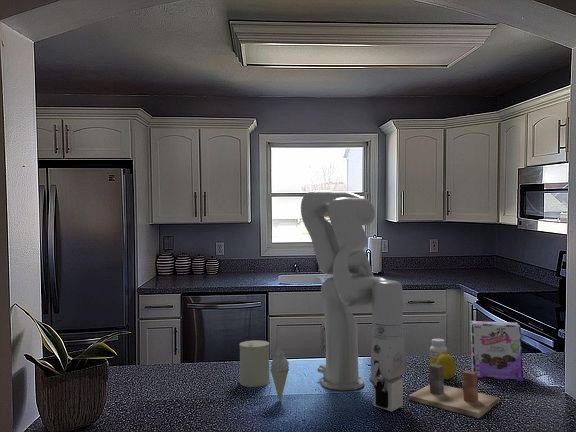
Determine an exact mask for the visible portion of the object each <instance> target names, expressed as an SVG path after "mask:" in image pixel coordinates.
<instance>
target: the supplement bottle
mask: <svg viewBox="0 0 576 432" xmlns="http://www.w3.org/2000/svg"><path fill="white" fill-rule="evenodd" d="M431 344H432V345H431V346H430V347H429V356H430V357H429V358H430V359H429V360H430V365H432V364H436V365H437V360H438V357H439V356H440V355H442V354H444V353H447V354H448V355H449V353H448V348H447V346H445V345H446V341H445V339H443V338H432V339H431Z"/></svg>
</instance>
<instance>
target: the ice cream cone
mask: <svg viewBox="0 0 576 432" xmlns="http://www.w3.org/2000/svg"><path fill="white" fill-rule="evenodd" d="M270 365H271V366H269V372H270V373H271V377H272V380H273V383H274V386H275V392H276V394H277V395H276V396H277V398H278V401H279V400H281V401H282V398H283V395H284V394H283V393H284V391H285V390H284V389H285V386H286V381H287V377H288V374H289V371H290V369H289V368H290V367H289V366H290V363H289V360H288V359H287V358H286V356H285V352H284V351H283V349H282V346H281V344H280V343H278V346H277V348H276V351H275V353H274V357H273V358H272V360H271V362H270Z"/></svg>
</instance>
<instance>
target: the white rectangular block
mask: <svg viewBox="0 0 576 432" xmlns="http://www.w3.org/2000/svg"><path fill="white" fill-rule="evenodd" d="M380 377H382V375H380ZM379 382H381V383H382V385H383V380H379ZM372 386H373V385H372ZM403 386H404V385H403V377H401V378H398V377H396V378H394V379H392V380H388V381H387V388H386V391H388V408H383V407H380V406H377V405H376V390H375V389H374V386H373V406H374V407H377V408H381V409H383V410H386V411H389V412H394V411H395V410H397V409H399V408H402V407H403V406H404V399H403V398H404V395H403V394H404V393H403V392H404V391H403Z"/></svg>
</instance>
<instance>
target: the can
mask: <svg viewBox="0 0 576 432" xmlns="http://www.w3.org/2000/svg"><path fill="white" fill-rule="evenodd" d="M270 379H271V378H270V342H268V341H267V340H261V339H260V340H254V339H253V340H245V341H242V342H240V343H239V382H238V383H239V385H241V386H244V387H246V388H258V387H264V386H268V385H269V384H270V382H271V380H270Z"/></svg>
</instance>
